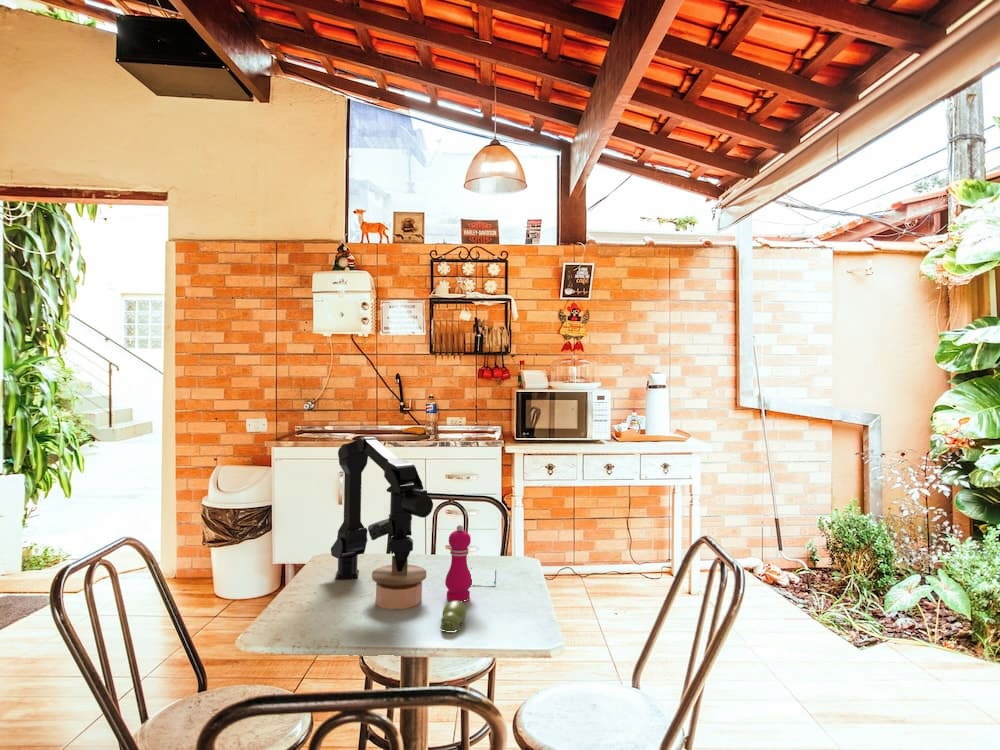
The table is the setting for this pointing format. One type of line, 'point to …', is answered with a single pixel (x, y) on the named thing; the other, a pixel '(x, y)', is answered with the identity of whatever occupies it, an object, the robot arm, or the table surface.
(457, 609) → the pear
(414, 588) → the terracotta bowl
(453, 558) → the pepper mill
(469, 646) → the table surface
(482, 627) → the table surface
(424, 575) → the walnut lid
